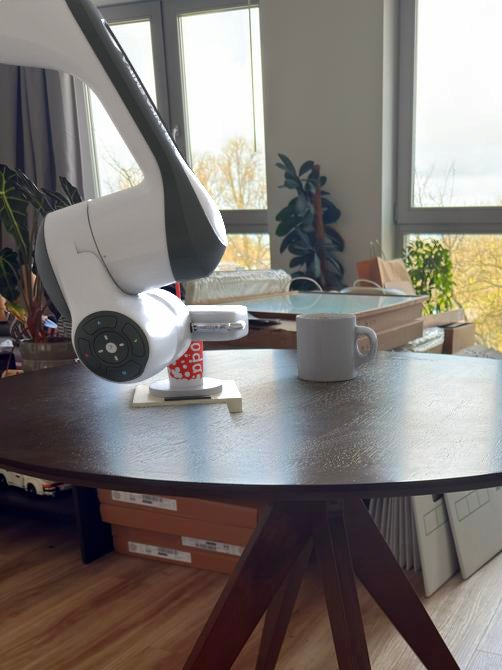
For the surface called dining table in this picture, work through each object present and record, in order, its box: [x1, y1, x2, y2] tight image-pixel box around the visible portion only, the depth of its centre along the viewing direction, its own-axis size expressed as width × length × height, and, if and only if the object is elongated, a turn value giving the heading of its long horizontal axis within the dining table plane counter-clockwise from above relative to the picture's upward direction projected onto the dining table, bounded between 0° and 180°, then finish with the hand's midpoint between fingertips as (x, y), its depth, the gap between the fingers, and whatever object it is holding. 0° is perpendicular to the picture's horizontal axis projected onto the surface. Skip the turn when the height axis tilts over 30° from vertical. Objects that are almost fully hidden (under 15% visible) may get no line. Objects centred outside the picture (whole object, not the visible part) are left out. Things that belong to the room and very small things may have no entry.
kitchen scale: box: [132, 377, 244, 413], centre depth 101 cm, size 14×13×3 cm
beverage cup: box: [166, 282, 205, 387], centre depth 98 cm, size 6×6×14 cm
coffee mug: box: [295, 312, 379, 383], centre depth 121 cm, size 13×10×10 cm
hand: (177, 316), depth 97 cm, fingers open, 8 cm apart
